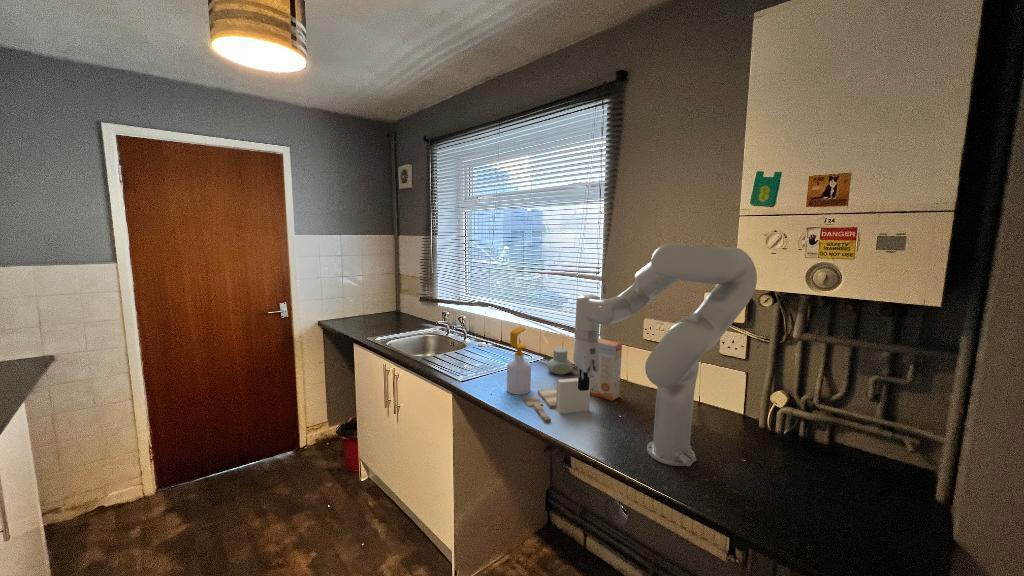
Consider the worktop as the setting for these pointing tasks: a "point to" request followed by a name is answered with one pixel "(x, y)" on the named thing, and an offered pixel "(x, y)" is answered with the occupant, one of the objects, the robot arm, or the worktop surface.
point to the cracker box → (607, 371)
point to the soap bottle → (518, 368)
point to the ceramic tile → (571, 396)
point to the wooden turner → (537, 407)
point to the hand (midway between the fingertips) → (583, 389)
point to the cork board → (549, 397)
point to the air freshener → (560, 362)
